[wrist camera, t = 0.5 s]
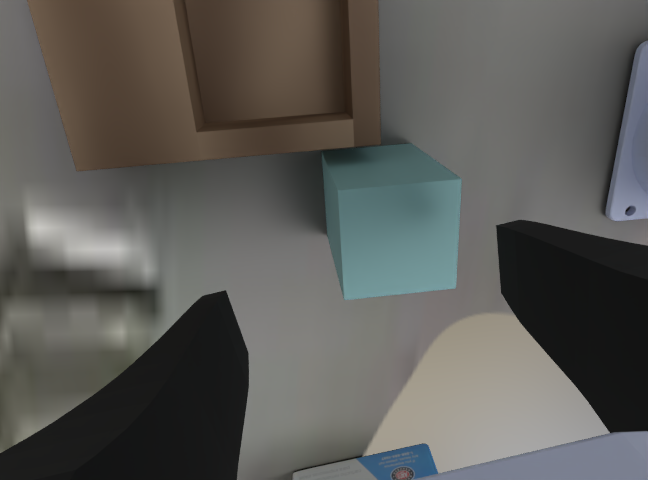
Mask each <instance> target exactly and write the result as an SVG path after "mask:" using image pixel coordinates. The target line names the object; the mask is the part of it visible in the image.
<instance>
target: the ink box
mask: <svg viewBox="0 0 648 480" xmlns="http://www.w3.org/2000/svg"><path fill="white" fill-rule="evenodd" d="M434 474H438V472H437V469H436V466H435V463H434V460H433V458H432V455H431V452H430V449H429V447H428V445H427V444H419V445H414V446H410V447H405V448H401V449H396V450H392V451H387V452H383V453H378V454H373V455H369V456H364V457H360V458H355V459H351V460H346V461H342V462H337V463H332V464H328V465H323V466H319V467H314V468H309V469H305V470H301V471H297V472H294V473H293V480H413V479H417V478H422V477H426V476H430V475H434Z"/></svg>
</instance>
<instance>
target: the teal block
mask: <svg viewBox="0 0 648 480" xmlns="http://www.w3.org/2000/svg"><path fill="white" fill-rule="evenodd" d="M321 153H322V167H323V181H324V195H325V209H326V224H327V236H328V240H329V244H330V248H331V251H332V255H333V259H334V263H335V267H336V271H337V275H338V278H339V282H340V286H341V290H342V294H343V298H344V300H351V299H360V298H370V297H379V296H388V295H398V294H407V293H416V292H426V291H435V290H444V289H454V288H456V276H457V258H458V239H459V221H460V203H461V184H462V179H461V178H460V177H458V176H457V175H455V174H454V173H453V172H451V171H450V170H448V169H447V168H446V167H444V166H443V165H441V164H440V163H439V162H437V161H436V160H434V159H433V158H432V157H430V156H429V155H427V154H426V153H424V152H423V151H422V150H420V149H419V148H417V147H416V146H415V145H413V144H412V143H408V144H397V145H386V146H374V147H363V148H351V149H340V150H329V151H321Z"/></svg>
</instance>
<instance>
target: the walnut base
mask: <svg viewBox="0 0 648 480" xmlns="http://www.w3.org/2000/svg"><path fill="white" fill-rule="evenodd" d="M27 2H28V5H29V8H30V12H31V15H32V19H33V22H34V26H35V29H36V33H37V36H38V39H39V43H40V46H41V50H42V53H43V57H44V60H45V64H46V67H47V71H48V74H49V77H50V81H51V84H52V88H53V91H54V95H55V98H56V102H57V105H58V108H59V112H60V115H61V119H62V122H63V126H64V129H65V133H66V136H67V140H68V143H69V146H70V150H71V153H72V157H73V160H74V164H75V167H76V171H86V170H97V169H109V168H120V167H131V166H143V165H154V164H166V163H177V162H189V161H200V160H211V159H223V158H234V157H246V156H257V155H269V154H280V153H291V152H303V151H314V150H326V149H337V148H349V147H360V146H371V145H381V123H380V67H379V12H378V0H27Z"/></svg>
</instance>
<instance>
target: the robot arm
mask: <svg viewBox="0 0 648 480" xmlns="http://www.w3.org/2000/svg"><path fill="white" fill-rule="evenodd" d="M629 206H630V208H629V210H628V211H627V212H626V213H625V210H626V208H628V207H629ZM606 216H607V217H608V218H610V219H611V220H613V221H625V220H635V219H645V218H648V41H644V42H643V43H642V44H640V45H639V47H638V48H637V50H636V53H635V57H634V62H633V68H632V73H631V78H630V83H629V89H628V94H627V99H626V105H625V110H624V115H623V121H622V126H621V131H620V136H619V142H618V147H617V152H616V158H615V163H614V168H613V174H612V179H611V184H610V190H609V195H608V200H607V205H606ZM496 228H497V242H498V255H499V269H500V283H501V293H502V295H503V296H504V298H505V300H506V301H507V303H508V305H509V306H510V308H511V309H512V311H513V312H514V314H515V315H516V317H517V318H518V320H519V321H520V323H521V324H522V325H523V326H524V327H525V329H526V330H527V331H528V332H529V333H530V335H531V336H532V337H533V338H534V339H535V340H536V341H537V342H538V344H539V345H540V346H541V347H542V348H543V349H544V351H545V352H546V353H547V354H548V355H549V356H550V357H551V359H552V360H553V361H554V362H555V363H556V364H557V365H558V366H559V368H560V369H561V370H562V371H563V372H564V373H565V374H566V376H567V377H568V378H569V379H570V380H571V381H572V382H573V383H574V385H575V386H576V387H577V388H578V390H579V391H580V392H581V393H582V395H583V396H584V397H585V398H586V400H587V401H588V402H589V404H590V405H591V406H592V408H593V409H594V411H595V412H596V414H597V415H598V416H599V418H600V419H601V421H602V422H603V423H604V425H605V426H606V428H607V429H608V431H609V432H610V433H609V434H605V435H601V436H596V437H592V438H588V439H584V440H579V441H575V442H571V443H567V444H562V445H558V446H554V447H550V448H545V449H541V450H537V451H533V452H528V453H525V454H520V455H516V456H511V457H507V458H503V459H499V460H495V461H490V462H486V463H481V464H478V465H473V466H469V467H464V468H460V469H456V470H451V471H447V472H443V473H439V474H434V475H430V476H426V477H422V478H417V479H413V480H648V246H646V245H640V244H635V243H629V242H624V241H618V240H613V239H608V238H604V237H599V236H594V235H590V234H586V233H581V232H577V231H573V230H568V229H564V228H560V227H556V226H551V225H547V224H542V223H538V222H532V221H526V220H517V221H513V222H509V223H505V224H500V225H496ZM248 388H249V360H248V351H247V348H246V345H245V342H244V339H243V337H242V334H241V331H240V328H239V326H238V323H237V320H236V317H235V314H234V312H233V309H232V306H231V303H230V301H229V298H228V295H227V292H226V290H225V291H221V292H217V293H213V294H208V295H204V296H202V297H201V298H200V299H199V300H197V301H196V302H195V303H194V304H193V305H192V306H191V307H190V308H189V309H188V310H187V311H186V312H185V313H184V314H183V315H182V316H181V317H180V318H179V319H178V320H177V321H176V322H175V323H174V325H173V326H172V327H171V328H170V329H169V330H168V331H167V332H166V333H165V334H164V335H163V336H162V337H161V338H160V339H159V340H158V341H157V342H155V343H154V344H153V345H152V346H151V347H150V348H149V349H148V350H147V351H146V352H145V353H144V354H143V355H142V356H140V357H139V358H138V359H137V360H136V361H135V362H134V363H133V364H132V365H131V366H129V367H128V368H127V369H126V370H125V371H124V372H122V373H121V374H120V375H119V376H118V377H116V378H115V379H114V380H112V381H111V382H110V383H109V384H107V385H106V386H105V387H104V388H102V389H101V390H100V391H98V392H97V393H96V394H94V395H93V396H92V397H90V398H89V399H87V400H86V401H84V402H83V403H81V404H80V405H78V406H77V407H75V408H74V409H72V410H71V411H69V412H68V413H66V414H65V415H63V416H62V417H61V418H59V419H58V420H56V421H55V422H53V423H51V424H50V425H48V426H47V427H45V428H43V429H42V430H40V431H38V432H37V433H35V434H33V435H32V436H30V437H28V438H27V439H25V440H23V441H21V442H19V443H18V444H16V445H14V446H12V447H11V448H9V449H7V450H5V451H4V452H2V453H0V480H237V471H238V461H239V454H240V447H241V440H242V433H243V425H244V418H245V411H246V403H247V396H248Z"/></svg>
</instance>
